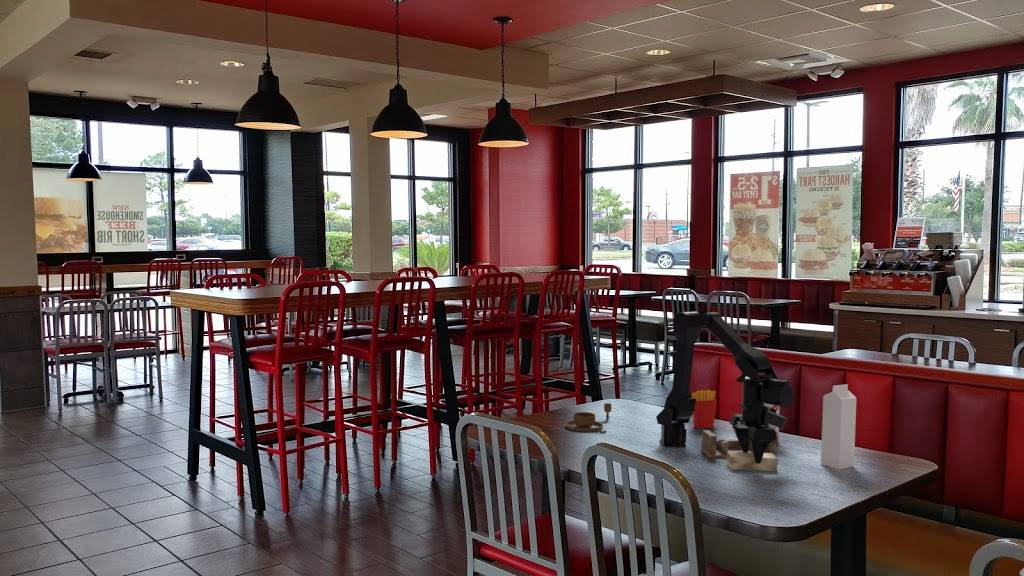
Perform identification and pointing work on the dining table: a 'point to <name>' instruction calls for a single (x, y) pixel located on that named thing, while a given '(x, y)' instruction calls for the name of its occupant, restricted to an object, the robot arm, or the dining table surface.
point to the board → (751, 461)
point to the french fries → (704, 409)
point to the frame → (726, 446)
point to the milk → (838, 428)
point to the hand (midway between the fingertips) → (751, 458)
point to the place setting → (587, 420)
